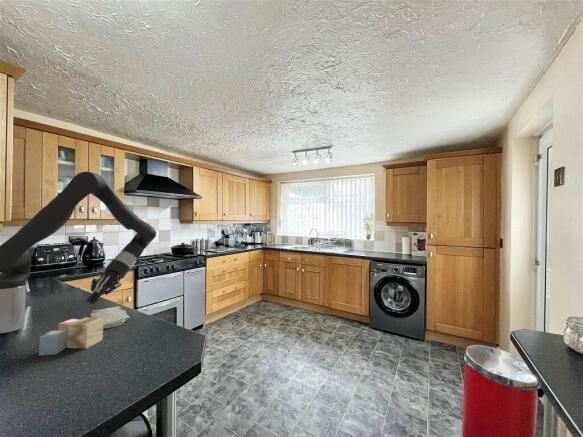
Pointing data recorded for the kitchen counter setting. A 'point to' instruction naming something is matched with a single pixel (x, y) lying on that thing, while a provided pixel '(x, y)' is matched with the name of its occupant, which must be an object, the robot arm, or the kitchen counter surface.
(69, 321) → the terracotta label block
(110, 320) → the stone tool
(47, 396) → the kitchen counter surface
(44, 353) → the blue label block
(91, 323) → the plain block
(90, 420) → the kitchen counter surface
